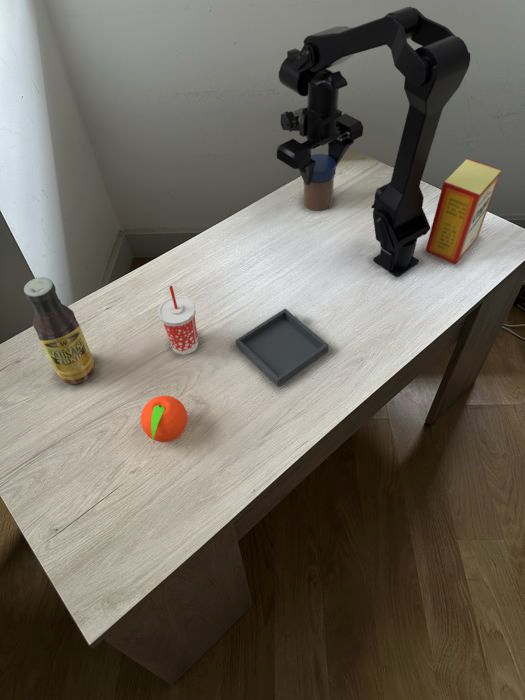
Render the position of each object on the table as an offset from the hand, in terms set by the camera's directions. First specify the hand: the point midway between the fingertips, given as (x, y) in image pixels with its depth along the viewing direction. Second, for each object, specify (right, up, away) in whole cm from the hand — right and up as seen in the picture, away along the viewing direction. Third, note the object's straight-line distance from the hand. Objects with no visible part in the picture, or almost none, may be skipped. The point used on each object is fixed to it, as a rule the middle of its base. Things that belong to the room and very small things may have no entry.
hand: (318, 177), depth 110 cm
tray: (-9, -36, -21) cm, 43 cm away
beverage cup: (-25, -36, -19) cm, 48 cm away
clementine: (-27, -49, -30) cm, 64 cm away
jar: (0, -4, +5) cm, 6 cm away
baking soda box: (+26, -16, -6) cm, 31 cm away
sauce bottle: (-43, -40, -22) cm, 63 cm away
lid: (0, +2, -2) cm, 3 cm away
